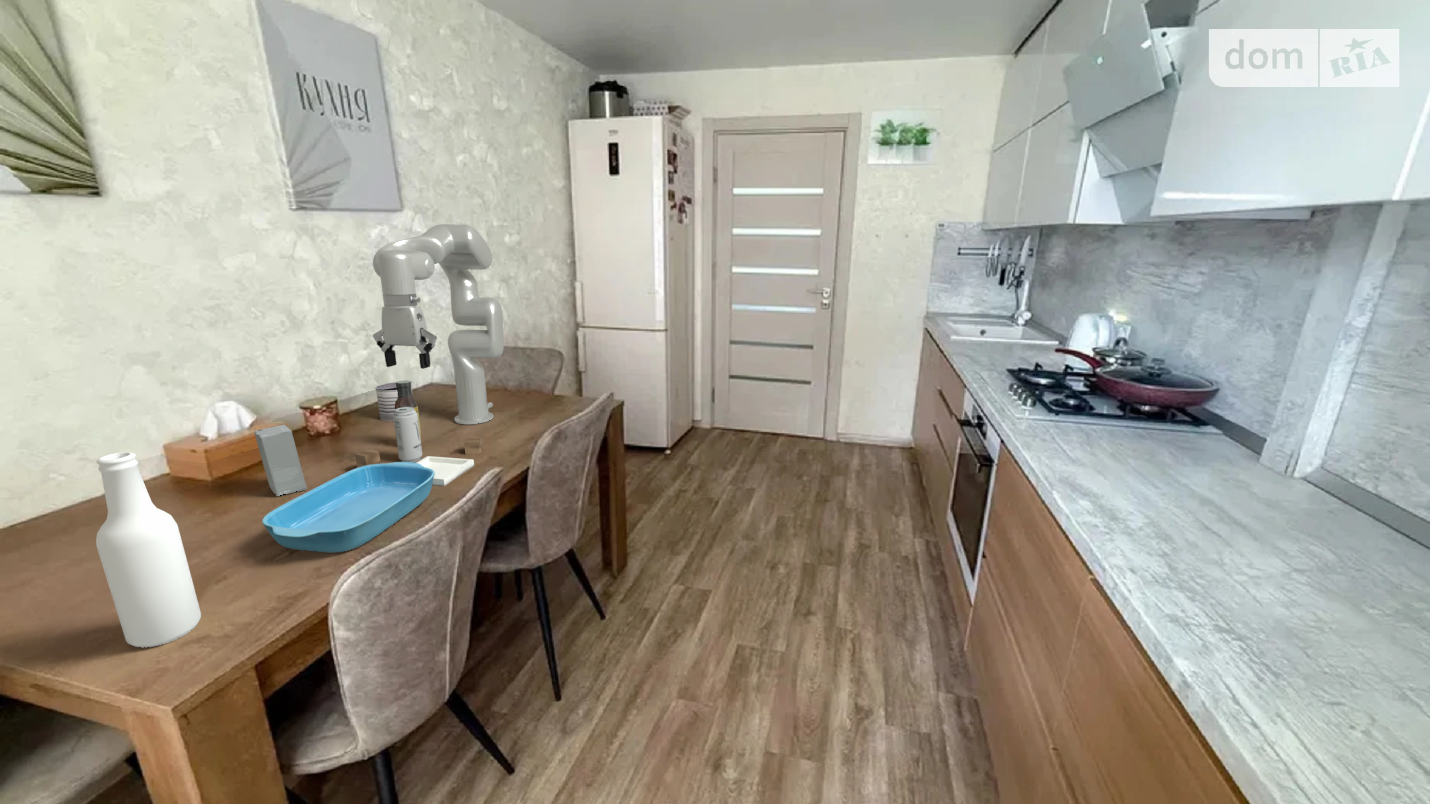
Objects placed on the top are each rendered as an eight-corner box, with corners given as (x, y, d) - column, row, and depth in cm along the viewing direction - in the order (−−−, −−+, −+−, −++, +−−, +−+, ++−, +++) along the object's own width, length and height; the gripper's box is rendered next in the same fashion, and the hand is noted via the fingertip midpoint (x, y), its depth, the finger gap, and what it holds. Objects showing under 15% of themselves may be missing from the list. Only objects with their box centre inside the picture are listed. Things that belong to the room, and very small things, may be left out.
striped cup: (395, 422, 194) (390, 389, 191) (371, 418, 198) (366, 385, 194) (423, 414, 204) (418, 381, 201) (399, 410, 208) (395, 378, 205)
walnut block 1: (371, 466, 157) (368, 449, 156) (381, 468, 156) (378, 451, 154) (357, 471, 154) (354, 454, 152) (367, 473, 152) (365, 456, 151)
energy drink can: (422, 461, 161) (415, 411, 157) (398, 464, 159) (390, 413, 155) (423, 454, 166) (417, 405, 162) (400, 456, 164) (393, 407, 160)
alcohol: (111, 645, 87) (53, 464, 79) (174, 610, 96) (127, 443, 87) (156, 654, 86) (101, 470, 77) (216, 618, 94) (173, 448, 86)
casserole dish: (344, 570, 108) (338, 537, 107) (241, 560, 111) (233, 527, 109) (454, 490, 144) (451, 464, 142) (374, 484, 146) (370, 458, 144)
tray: (428, 462, 161) (427, 456, 160) (474, 465, 159) (473, 459, 158) (394, 481, 147) (393, 475, 147) (444, 485, 145) (443, 479, 145)
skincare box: (307, 490, 142) (296, 430, 137) (272, 498, 137) (259, 436, 132) (299, 480, 147) (288, 422, 143) (265, 488, 142) (252, 428, 138)
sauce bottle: (415, 448, 171) (406, 384, 165) (394, 447, 171) (385, 384, 166) (426, 441, 177) (418, 379, 172) (406, 440, 177) (398, 379, 172)
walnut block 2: (468, 450, 171) (466, 437, 170) (482, 449, 171) (481, 436, 170) (465, 454, 167) (464, 442, 166) (479, 454, 168) (478, 441, 167)
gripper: (440, 301, 148) (447, 365, 152) (379, 299, 150) (388, 362, 154) (422, 303, 140) (430, 371, 145) (358, 301, 142) (368, 368, 147)
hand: (408, 366), depth 149 cm, fingers open, 9 cm apart
